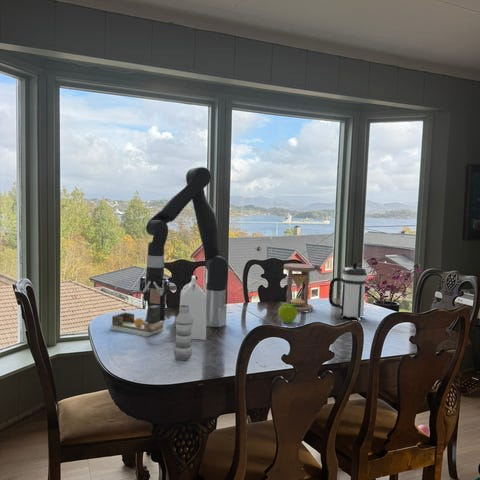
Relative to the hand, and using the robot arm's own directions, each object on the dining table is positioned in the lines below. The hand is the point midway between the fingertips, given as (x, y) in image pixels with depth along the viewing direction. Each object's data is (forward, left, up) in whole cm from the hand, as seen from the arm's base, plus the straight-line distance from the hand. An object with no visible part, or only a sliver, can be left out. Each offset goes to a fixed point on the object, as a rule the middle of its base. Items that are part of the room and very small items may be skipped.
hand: (153, 302), depth 203 cm
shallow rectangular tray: (+9, 0, -14) cm, 16 cm away
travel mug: (+12, -20, -14) cm, 27 cm away
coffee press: (-69, -80, -14) cm, 107 cm away
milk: (-16, -6, -14) cm, 22 cm away
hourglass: (-39, -83, -14) cm, 93 cm away
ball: (+8, 0, -10) cm, 13 cm away
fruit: (-44, -52, -14) cm, 70 cm away
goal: (+16, 0, -12) cm, 20 cm away
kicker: (0, 0, -12) cm, 12 cm away
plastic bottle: (-29, +22, -14) cm, 39 cm away
